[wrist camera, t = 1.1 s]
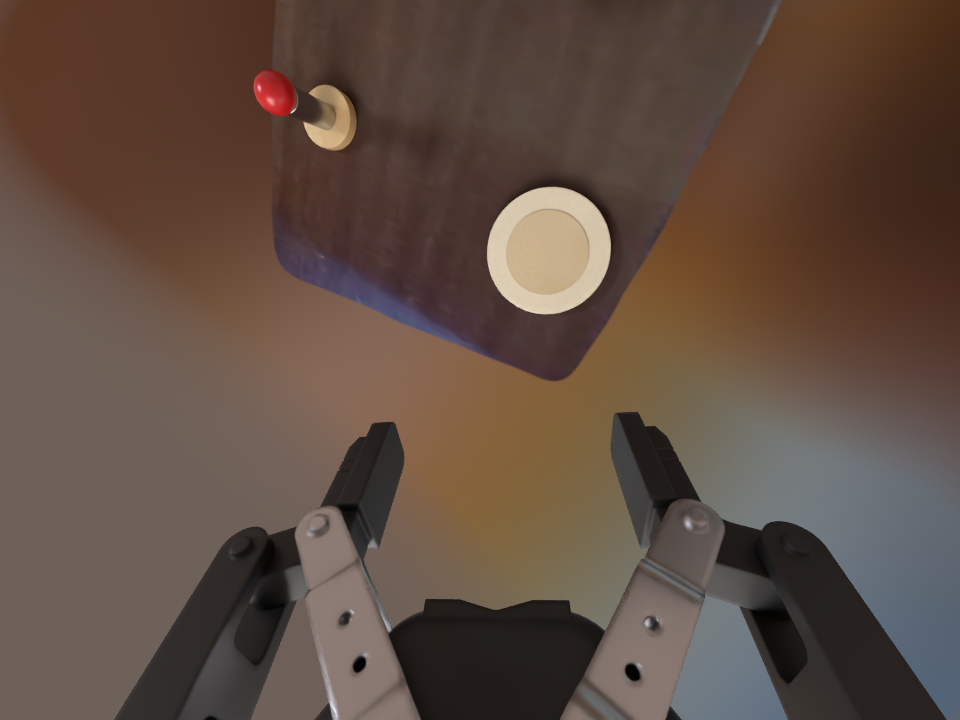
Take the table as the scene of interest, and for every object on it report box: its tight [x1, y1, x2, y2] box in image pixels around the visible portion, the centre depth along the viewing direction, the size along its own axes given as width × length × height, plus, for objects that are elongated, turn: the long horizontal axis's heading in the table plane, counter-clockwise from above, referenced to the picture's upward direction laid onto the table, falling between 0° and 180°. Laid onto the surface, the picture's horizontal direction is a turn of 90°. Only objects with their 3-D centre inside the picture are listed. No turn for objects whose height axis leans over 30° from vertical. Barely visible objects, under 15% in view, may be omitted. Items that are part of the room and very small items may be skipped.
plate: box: [487, 187, 611, 314], centre depth 36 cm, size 12×12×1 cm
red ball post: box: [254, 70, 357, 151], centre depth 34 cm, size 6×6×9 cm
